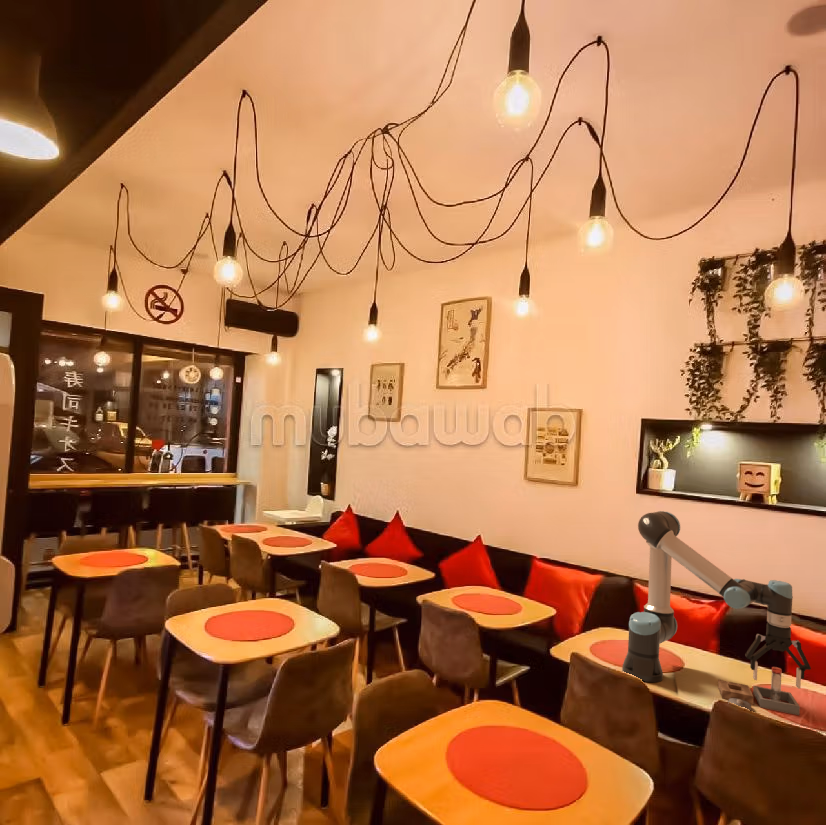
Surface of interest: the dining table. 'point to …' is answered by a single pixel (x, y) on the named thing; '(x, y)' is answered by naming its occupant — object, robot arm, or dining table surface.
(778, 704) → the tray
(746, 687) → the tensioner block
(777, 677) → the lock pin
